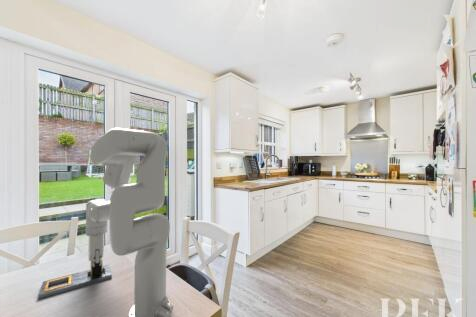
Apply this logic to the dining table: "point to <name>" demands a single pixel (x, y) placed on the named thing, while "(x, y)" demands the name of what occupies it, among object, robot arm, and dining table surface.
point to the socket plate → (72, 282)
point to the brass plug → (92, 266)
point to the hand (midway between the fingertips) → (96, 272)
